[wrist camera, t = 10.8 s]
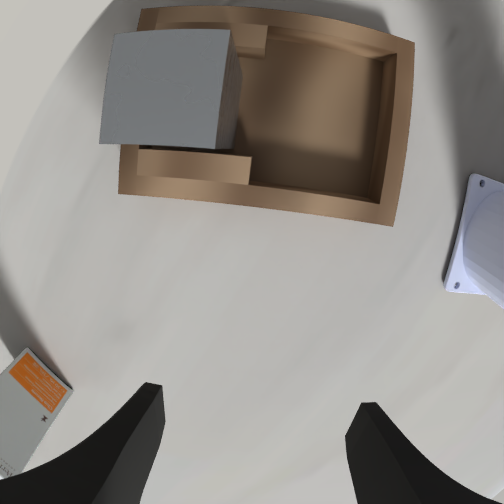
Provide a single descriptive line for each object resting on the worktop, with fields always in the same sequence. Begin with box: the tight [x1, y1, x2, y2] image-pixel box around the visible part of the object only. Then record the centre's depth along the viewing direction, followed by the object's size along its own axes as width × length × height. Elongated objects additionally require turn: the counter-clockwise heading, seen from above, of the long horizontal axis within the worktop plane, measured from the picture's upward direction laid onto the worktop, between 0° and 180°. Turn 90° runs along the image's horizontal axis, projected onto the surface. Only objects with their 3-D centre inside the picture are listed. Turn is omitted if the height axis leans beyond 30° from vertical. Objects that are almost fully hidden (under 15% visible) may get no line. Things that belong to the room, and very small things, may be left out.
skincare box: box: [0, 347, 73, 480], centre depth 17 cm, size 6×4×12 cm
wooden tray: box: [118, 6, 415, 227], centre depth 14 cm, size 14×10×2 cm
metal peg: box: [99, 29, 243, 149], centre depth 12 cm, size 4×4×7 cm
